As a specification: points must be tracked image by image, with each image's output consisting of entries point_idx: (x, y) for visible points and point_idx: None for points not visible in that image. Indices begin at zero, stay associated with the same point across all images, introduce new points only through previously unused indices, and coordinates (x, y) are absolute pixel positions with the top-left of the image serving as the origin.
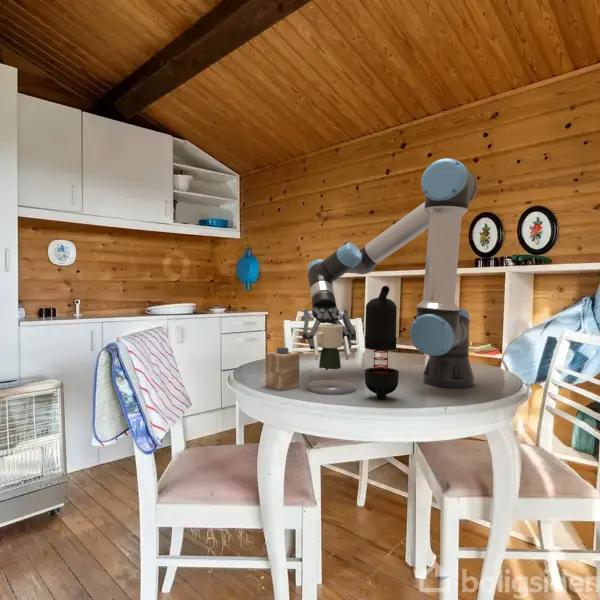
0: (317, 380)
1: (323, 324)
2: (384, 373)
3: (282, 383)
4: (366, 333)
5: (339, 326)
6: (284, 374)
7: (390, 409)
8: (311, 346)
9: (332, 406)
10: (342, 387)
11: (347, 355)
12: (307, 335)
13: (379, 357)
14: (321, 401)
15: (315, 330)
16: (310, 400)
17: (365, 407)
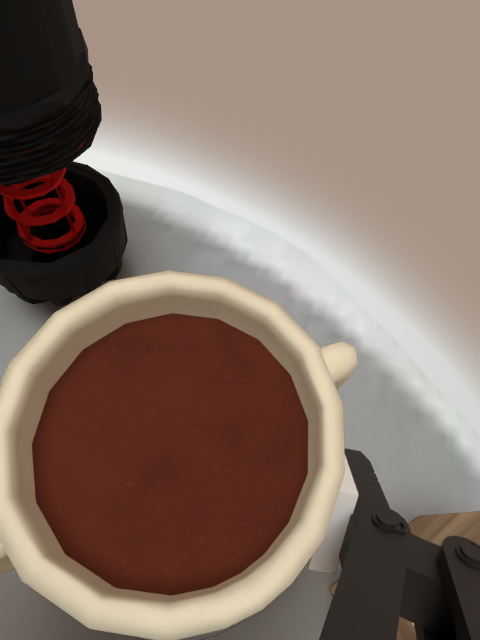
0: (216, 633)
1: (226, 597)
2: (76, 164)
3: (435, 515)
4: (74, 37)
5: (112, 282)
6: (449, 522)
7: (127, 187)
8: (356, 452)
9: (275, 252)
10: None
11: None
12: (424, 549)
13: (11, 190)
14: (292, 309)
15: (343, 570)
16: (326, 330)
17: (185, 219)
